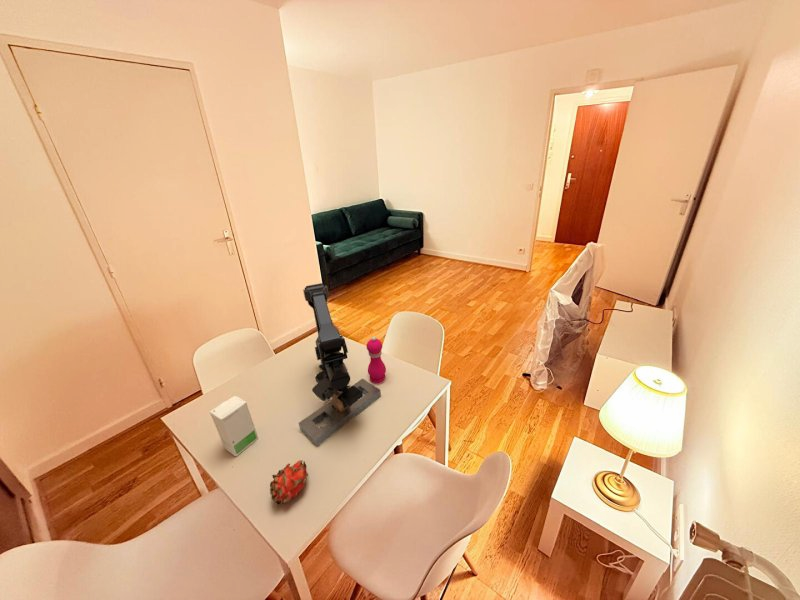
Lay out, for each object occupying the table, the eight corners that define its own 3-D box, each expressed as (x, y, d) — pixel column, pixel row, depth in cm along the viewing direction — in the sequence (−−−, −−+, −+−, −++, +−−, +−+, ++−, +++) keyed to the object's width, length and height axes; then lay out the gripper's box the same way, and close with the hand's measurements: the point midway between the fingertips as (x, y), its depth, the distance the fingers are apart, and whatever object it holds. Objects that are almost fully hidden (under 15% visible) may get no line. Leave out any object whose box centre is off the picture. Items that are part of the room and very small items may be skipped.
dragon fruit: (272, 515, 77) (305, 479, 87) (290, 513, 72) (323, 475, 83) (255, 487, 77) (290, 454, 87) (272, 483, 72) (307, 449, 83)
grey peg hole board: (300, 429, 99) (298, 423, 98) (363, 384, 117) (362, 378, 116) (317, 446, 93) (315, 439, 92) (381, 396, 111) (380, 389, 110)
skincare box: (235, 457, 91) (219, 421, 84) (223, 448, 94) (207, 412, 87) (259, 437, 97) (247, 401, 90) (247, 429, 100) (234, 394, 94)
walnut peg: (333, 408, 104) (330, 390, 101) (343, 401, 107) (340, 384, 103) (341, 414, 102) (337, 396, 98) (350, 407, 104) (347, 389, 101)
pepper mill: (387, 372, 123) (384, 331, 114) (385, 385, 117) (381, 342, 108) (370, 372, 124) (365, 331, 115) (367, 384, 117) (361, 342, 109)
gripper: (297, 369, 97) (306, 404, 104) (332, 395, 86) (339, 433, 93) (326, 353, 105) (332, 387, 111) (361, 375, 93) (366, 412, 100)
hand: (341, 404), depth 104 cm, fingers closed on walnut peg, 4 cm apart
